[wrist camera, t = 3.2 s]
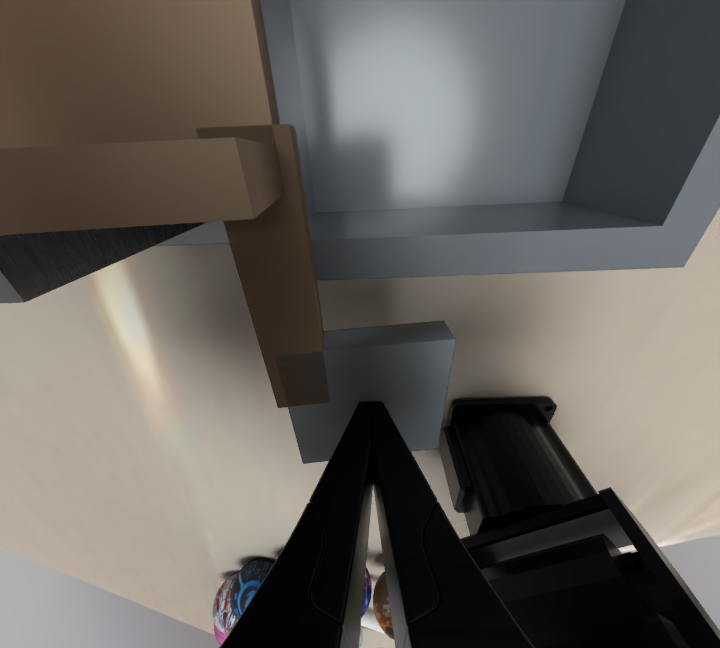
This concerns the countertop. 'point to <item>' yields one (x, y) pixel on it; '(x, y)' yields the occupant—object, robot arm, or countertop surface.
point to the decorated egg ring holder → (250, 577)
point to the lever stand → (85, 253)
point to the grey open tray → (500, 132)
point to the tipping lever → (198, 185)
